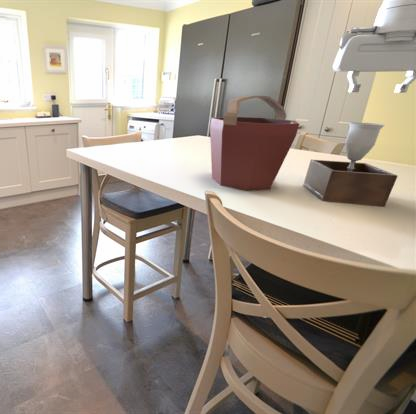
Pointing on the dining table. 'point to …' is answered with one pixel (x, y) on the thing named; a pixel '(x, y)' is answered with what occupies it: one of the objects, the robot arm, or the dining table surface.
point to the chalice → (360, 140)
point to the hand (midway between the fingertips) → (376, 92)
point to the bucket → (250, 146)
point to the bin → (349, 182)
